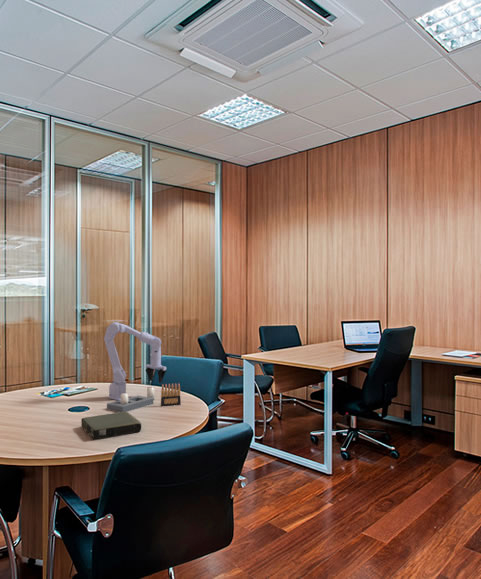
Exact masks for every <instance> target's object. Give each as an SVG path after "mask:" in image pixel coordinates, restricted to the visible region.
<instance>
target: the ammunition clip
mask: <svg viewBox="0 0 481 579" xmlns="http://www.w3.org/2000/svg"><path fill="white" fill-rule="evenodd" d="M177 383H178V384H177ZM177 383H176V382H175V383H173V382H172V383H171V384H170V383H168V385H167V383H165V386H164V384H163V383H162V384H161V392H160V393H161V395H160V407H173V406H174V405H175V406H181V403H182V402H181V400H182V399H181V386H180V383H179V382H177Z"/></svg>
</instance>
